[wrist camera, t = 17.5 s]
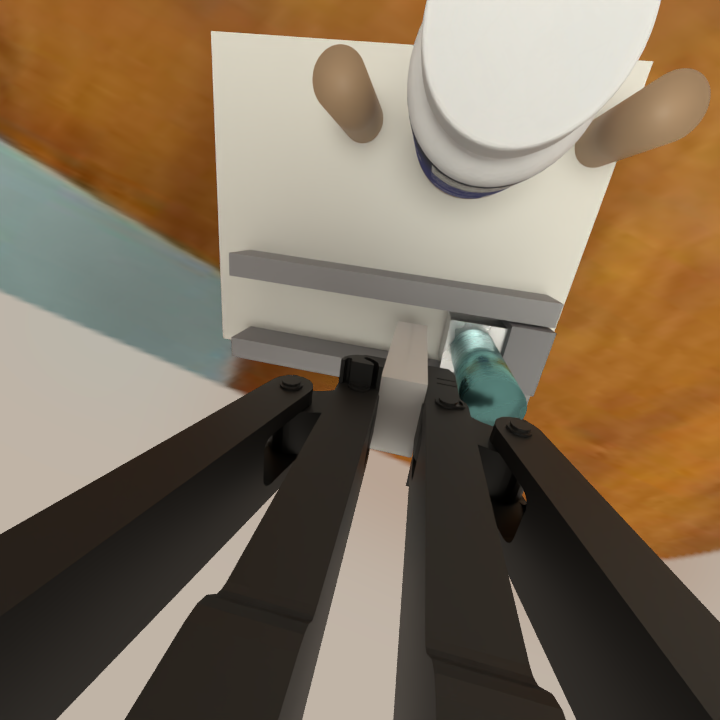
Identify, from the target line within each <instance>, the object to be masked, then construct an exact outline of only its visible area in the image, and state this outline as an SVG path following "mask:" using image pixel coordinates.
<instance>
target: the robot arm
mask: <svg viewBox="0 0 720 720" xmlns="http://www.w3.org/2000/svg"><path fill="white" fill-rule="evenodd" d="M369 449H375V450H379V451H384V452H388V453H393V454H397V455H402V456H406V457H412V452H413V457H412V461H411V466H410V470H409V474H408V479H407V483H406V486H409V493H408V508H407V523H406V539H405V553H404V569H403V583H402V598H401V614H400V629H399V644H398V659H397V675H396V689H395V705H394V720H566V719H565V716H564V713H563V711H562V709H561V707H560V705H559V704H558V702H557V701H556V699H555V697H554V696H553V695H552V694H551V693H550V692H548V691H546V690H544V689H543V688H541V687H539V686H538V685H537V683H536V682H535V679H534V678H533V675H532V672H531V669H530V665H529V661H528V657H527V652H526V648H525V644H524V640H523V636H522V631H521V627H520V623H519V618H518V614H517V610H516V606H515V601H514V597H513V593H512V589H511V584H510V581H509V577H510V579H511V581H512V584H513V586H514V588H515V590H516V592H517V594H518V596H519V598H520V601H521V603H522V604H523V607H524V609H525V611H526V613H527V616H528V618H529V620H530V622H531V624H532V626H533V628H534V630H535V633H536V635H537V637H538V639H539V641H540V643H541V645H542V647H543V649H544V652H545V654H546V656H547V658H548V660H549V662H550V664H551V666H552V668H553V671H554V673H555V675H556V677H557V679H558V681H559V683H560V686H561V688H562V690H563V692H564V694H565V696H566V698H567V700H568V703H569V705H570V707H571V709H572V711H573V713H574V715H575V717H576V720H720V622H719V621H718V620H717V619H716V618H715V617H714V616H713V615H712V614H711V613H710V611H709V610H708V609H707V608H706V607H705V606H704V605H703V604H702V603H701V602H700V601H699V600H698V599H697V598H696V596H695V595H694V594H693V593H692V592H691V591H690V590H689V589H688V588H687V587H686V586H685V585H684V584H683V582H681V580H680V579H679V578H678V577H677V576H676V575H675V574H674V573H673V572H672V571H671V570H670V569H669V567H668V566H667V565H666V564H665V563H664V562H663V561H662V560H661V559H660V558H659V557H658V556H657V555H656V554H655V552H654V551H653V550H652V549H651V548H650V547H649V546H648V545H647V544H646V543H645V542H644V541H643V540H642V539H641V538H640V536H639V535H638V534H637V533H636V532H635V531H634V530H633V529H632V528H631V527H630V526H629V525H628V524H627V523H626V521H625V520H624V519H623V518H622V517H621V516H620V515H619V514H618V513H617V512H616V511H615V510H614V509H613V508H612V506H611V505H610V504H609V503H608V502H607V501H606V500H605V499H604V498H603V497H602V496H601V495H600V494H599V493H598V491H597V490H596V489H595V488H594V487H593V486H592V485H591V484H590V483H589V482H588V481H587V480H586V479H585V478H584V477H583V475H582V474H581V473H580V472H579V471H578V470H577V469H576V468H575V467H574V466H573V465H572V464H571V463H570V462H569V460H568V459H567V458H566V457H565V456H564V455H563V454H562V453H561V452H560V451H559V450H558V449H557V448H556V447H555V445H554V444H553V443H552V442H551V441H550V440H549V439H548V438H547V437H546V436H545V435H544V434H543V433H542V432H541V431H540V430H539V429H538V428H537V427H535V426H534V425H532V424H530V423H528V422H527V421H526V420H523V419H522V420H521V419H520V418H517V417H515V418H514V417H500V418H497V419H496V421H495V423H494V426H491V425H488V424H485V423H483V422H480V421H478V420H476V419H474V418H472V417H471V415H470V410H469V407H468V406H467V404H466V403H465V402H463V401H462V400H461V399H460V398H459V393H458V388H457V383H456V377H455V375H454V374H453V373H452V372H451V371H450V370H449V369H445V368H439V367H434V366H428V354H427V326H425V325H419V324H413V323H407V322H401V321H398V322H397V326H396V329H395V332H394V336H393V339H392V342H391V346H390V349H389V352H388V356H387V359H385V358H380V357H375V356H369V355H349V356H345V357H343V358H342V359H341V366H340V375H339V383H338V385H337V387H336V388H335V390H332V391H313V384H312V383H311V381H310V380H308V379H306V378H304V377H300V376H297V375H293V376H292V375H286V376H280V377H277V378H275V379H273V380H271V381H269V382H267V383H266V384H264V385H262V386H260V387H259V388H257V389H255V390H253V391H252V392H250V393H248V394H246V395H244V396H243V397H241V398H239V399H237V400H236V401H234V402H232V403H230V404H229V405H227V406H225V407H223V408H222V409H220V410H218V411H217V412H215V413H213V414H211V415H209V416H208V417H206V418H204V419H202V420H201V421H199V422H197V423H195V424H193V425H192V426H190V427H188V428H187V429H185V430H183V431H181V432H179V433H178V434H176V435H174V436H172V437H171V438H169V439H167V440H165V441H164V442H162V443H160V444H158V445H157V446H155V447H153V448H151V449H150V450H148V451H146V452H144V453H143V454H141V455H139V456H137V457H136V458H134V459H132V460H130V461H128V462H127V463H125V464H123V465H121V466H120V467H118V468H116V469H114V470H113V471H111V472H109V473H107V474H106V475H104V476H102V477H100V478H99V479H97V480H95V481H93V482H92V483H90V484H88V485H86V486H85V487H83V488H81V489H79V490H78V491H76V492H74V493H72V494H70V495H69V496H67V497H65V498H63V499H62V500H60V501H58V502H56V503H55V504H53V505H51V506H49V507H48V508H46V509H44V510H43V511H41V512H39V513H37V514H35V515H34V516H32V517H30V518H28V519H27V520H25V521H23V522H21V523H20V524H18V525H16V526H14V527H12V528H11V529H9V530H7V531H5V532H4V533H2V534H0V720H56V719H57V718H58V717H59V716H60V715H61V714H62V713H63V712H64V710H66V709H67V708H68V707H69V706H70V704H71V703H72V702H73V701H74V700H75V699H76V698H77V697H78V696H79V695H80V694H81V693H82V692H83V691H84V690H85V689H86V688H87V687H88V686H89V685H90V684H91V683H92V682H93V681H94V680H95V679H96V678H97V677H98V675H99V674H100V673H101V672H102V671H103V670H104V669H105V668H106V667H107V666H108V665H109V664H110V663H111V662H112V661H113V660H114V659H115V658H116V657H117V656H118V654H120V653H121V652H122V651H123V650H124V649H125V648H126V646H127V645H128V644H129V643H130V642H131V641H132V640H133V639H134V638H135V637H136V636H137V635H138V634H139V633H140V632H141V631H142V630H143V629H144V628H145V627H146V626H147V625H148V624H149V623H150V622H151V621H152V620H153V618H154V617H155V616H156V615H157V614H158V613H159V612H160V611H161V610H162V609H163V608H164V607H165V606H166V605H167V604H168V603H169V602H170V601H171V600H172V599H173V598H174V597H175V596H176V595H177V594H178V593H179V591H180V590H181V589H182V588H183V587H184V586H185V585H186V584H187V583H188V582H189V581H190V580H191V579H192V578H193V577H194V576H195V575H196V574H197V573H198V572H199V571H200V570H201V569H202V568H203V567H204V566H205V564H207V563H208V561H209V560H210V559H211V558H212V557H213V556H214V555H215V554H216V553H217V552H218V551H219V550H220V549H221V548H222V547H223V546H224V545H225V544H226V543H227V542H228V541H229V539H231V538H232V537H233V536H234V534H235V533H236V532H237V531H238V530H239V529H240V528H241V527H242V526H243V525H244V524H245V523H246V522H247V521H248V520H249V519H250V518H251V517H252V516H253V515H254V514H255V513H256V512H257V511H258V510H259V508H261V506H262V505H263V504H264V503H265V502H266V501H267V500H268V499H269V498H270V497H271V496H272V495H273V494H274V493H275V492H276V491H277V490H278V489H279V490H278V492H277V493H276V495H275V497H274V499H273V500H272V502H271V504H270V506H269V507H268V509H267V511H266V513H265V515H264V517H263V518H262V520H261V522H260V523H259V525H258V527H257V529H256V531H255V532H254V534H253V536H252V538H251V540H250V541H249V543H248V545H247V547H246V548H245V550H244V552H243V554H242V556H241V557H240V559H239V561H238V563H237V565H236V567H235V568H234V570H233V572H232V573H231V575H230V577H229V579H228V581H227V582H226V584H225V585H224V587H223V588H222V589H221V590H220V591H219V592H218V593H217V594H211V595H206V596H205V597H204V598H203V599H202V600H201V601H199V602H198V603H197V605H196V606H195V607H194V609H193V610H192V612H191V613H190V615H189V616H188V618H187V619H186V620H185V622H184V624H183V625H182V627H181V628H180V630H179V632H178V633H177V635H176V637H175V638H174V640H173V641H172V643H171V645H170V646H169V648H168V650H167V651H166V653H165V654H164V656H163V658H162V659H161V661H160V663H159V664H158V666H157V668H156V669H155V671H154V673H153V674H152V676H151V678H150V679H149V681H148V682H147V684H146V686H145V687H144V689H143V690H142V692H141V694H140V695H139V697H138V699H137V700H136V702H135V704H134V705H133V707H132V708H131V710H130V712H129V713H128V715H127V717H126V718H125V720H302V718H303V714H304V710H305V706H306V702H307V698H308V694H309V690H310V686H311V681H312V678H313V674H314V670H315V666H316V662H317V658H318V654H319V650H320V646H321V642H322V638H323V634H324V630H325V626H326V622H327V618H328V614H329V611H330V607H331V603H332V599H333V594H334V591H335V587H336V583H337V578H338V575H339V571H340V567H341V563H342V559H343V555H344V551H345V547H346V543H347V539H348V535H349V531H350V527H351V523H352V519H353V516H354V512H355V507H356V503H357V500H358V496H359V492H360V487H361V484H362V480H363V476H364V472H365V468H366V464H367V460H368V455H369ZM523 491H524V492H525V495H526V499H527V502H526V501H525V499H524V498H523V496H522V494H523ZM508 575H509V576H508Z"/></svg>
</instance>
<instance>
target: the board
mask: <svg viewBox="0 0 720 720" xmlns="http://www.w3.org/2000/svg"><path fill="white" fill-rule="evenodd" d="M211 43H212V69H213V94H214V120H215V146H216V171H217V197H218V223H219V248H220V274H221V299H222V325H223V338H225V339H231V347H232V356H234V357H239V358H244V359H250V360H255V361H260V362H265V363H270V364H275V365H280V366H286V367H291V368H296V369H301V370H306V371H311V372H317V373H322V374H327V375H332V376H337V377H339V375H340V366H341V359H342V358H343V357H345V356H349V355H369V356H375V357H380V358H385V359H387V356H388V352H389V349H390V346H391V342H392V339H393V336H394V332H395V329H396V326H397V322H398V321H401V322H407V323H413V324H419V325H425V326H427V354H428V366H434V367H439V359H438V352H439V348H440V343H441V339H442V335H443V330H444V326H445V322H446V317H447V313H448V311H451V312H457V313H463V314H469V315H476V316H482V317H488V318H494V319H500V320H501V321H502V322H503V323H504V324H505V326H506V327H507V328H508V331H507V335H506V338H505V341H504V344H503V348H502V351H501V355H502V357H503V359H504V361H505V362H506V364H507V366H508V368H509V369H510V371H511V373H512V374H513V376H514V378H515V380H516V381H517V383H518V385H519V387H520V388H521V390H522V392H523V394H524V395H525V398H526V401H527V403H528V401H529V398H530V396H534V393H535V390H536V387H537V385H538V382H539V379H540V377H541V374H542V371H543V369H544V366H545V363H546V360H547V358H548V355H549V352H550V350H551V347H552V344H553V341H554V339H555V336H556V333H555V332H554V331H555V328H556V325H557V323H558V320H559V317H560V315H561V312H562V309H563V306H564V304H565V301H566V298H567V295H568V293H569V290H570V287H571V285H572V282H573V279H574V276H575V274H576V271H577V268H578V265H579V263H580V260H581V257H582V254H583V252H584V249H585V246H586V244H587V241H588V238H589V235H590V233H591V230H592V227H593V224H594V222H595V219H596V216H597V214H598V211H599V208H600V205H601V203H602V200H603V197H604V194H605V192H606V189H607V186H608V184H609V181H610V178H611V175H612V173H613V170H614V167H615V164H616V162H617V161H618V160H621V159H624V158H627V157H630V156H633V155H636V154H639V153H642V152H645V151H648V150H651V149H654V148H657V147H660V146H663V145H665V144H668V143H671V142H674V141H677V140H679V139H681V138H683V137H684V136H686V135H687V134H689V133H690V132H691V131H692V130H693V129H694V128H695V127H696V126H697V125H698V124H699V122H700V121H701V120H702V118H703V117H704V115H705V113H706V111H707V108H708V106H709V102H710V86H709V83H708V81H707V79H706V77H705V76H704V75H703V74H702V73H700V72H698V71H697V70H694V69H688V68H683V69H677V70H674V71H671V72H669V73H667V74H665V75H663V76H661V77H660V78H658V79H657V80H655V81H654V82H652V83H650V84H649V85H647V86H646V87H644V85H645V83H646V80H647V77H648V74H649V72H650V69H651V66H652V63H653V61H637V63H636V64H635V66H634V68H633V69H632V71H631V73H630V74H629V76H628V77H627V78H626V80H625V81H624V83H623V84H622V86H621V87H620V88H619V89H618V91H617V92H616V93H615V94H614V96H613V97H612V98H611V99H610V100H609V101H608V102H607V103H606V104H605V105H604V106H603V107H602V108H601V109H600V110H599V111H598V112H597V114H596V116H595V117H594V119H593V121H592V122H591V124H590V125H589V127H588V128H587V129H586V131H585V132H584V134H583V135H582V136H581V137H580V139H579V140H578V141H577V142H576V143H575V144H574V145H573V146H572V147H571V148H570V149H569V150H568V151H567V152H566V153H565V154H564V155H563V156H562V157H561V158H560V159H558V160H557V161H556V162H555V163H553V164H552V165H551V166H549V167H548V168H546V169H545V170H543V171H542V172H540V173H538V174H536V175H535V176H533V177H531V178H529V179H527V180H525V181H522V182H520V183H518V184H516V185H513V186H511V187H509V188H507V189H505V190H503V191H501V192H498V193H496V194H493V195H491V196H488V197H484V198H478V199H460V198H455V197H452V196H449V195H447V194H445V193H443V192H441V191H440V190H439V189H437V188H436V187H435V186H434V185H433V184H432V183H431V182H430V181H429V180H428V179H427V177H426V176H425V174H424V173H423V171H422V169H421V167H420V164H419V161H418V158H417V154H416V149H415V144H414V139H413V134H412V129H411V124H410V119H409V112H408V102H407V81H408V71H409V65H410V59H411V54H412V50H413V47H414V45H406V44H392V43H377V42H363V41H348V40H334V39H319V38H304V37H290V36H275V35H261V34H246V33H232V32H217V31H211ZM452 373H453V374H454V372H452ZM454 375H455V374H454Z"/></svg>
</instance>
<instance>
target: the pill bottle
mask: <svg viewBox="0 0 720 720" xmlns="http://www.w3.org/2000/svg"><path fill="white" fill-rule="evenodd" d="M660 1H661V0H427V2H426V6H425V11H424V17H423V22H422V24H421V27H420V29H419V32H418V35H417V37H416V40H415V43H414V47H413V50H412V54H411V59H410V65H409V71H408V81H407V102H408V112H409V119H410V124H411V129H412V134H413V139H414V144H415V149H416V154H417V158H418V161H419V164H420V167H421V169H422V171H423V173H424V174H425V176H426V177H427V179H428V180H429V181H430V182H431V183H432V184H433V185H434V186H435V187H436V188H437V189H439V190H440V191H441V192H443V193H445V194H447V195H449V196H452V197H455V198H460V199H478V198H484V197H488V196H491V195H493V194H496V193H498V192H501V191H503V190H505V189H507V188H509V187H511V186H513V185H516V184H518V183H520V182H522V181H525V180H527V179H529V178H531V177H533V176H535V175H536V174H538V173H540V172H542V171H543V170H545V169H546V168H548V167H549V166H551V165H552V164H553V163H555V162H556V161H557V160H558V159H560V158H561V157H562V156H563V155H564V154H565V153H566V152H567V151H568V150H569V149H570V148H571V147H572V146H573V145H574V144H575V143H576V142H577V141H578V140H579V139H580V137H581V136H582V135H583V134H584V132H585V131H586V129H587V128H588V127H589V125H590V124H591V122H592V121H593V119H594V117H595V116H596V114H597V112H598V111H599V110H600V109H601V108H602V107H603V106H604V105H605V104H606V103H607V102H608V101H609V100H610V99H611V98H612V97H613V96H614V94H615V93H616V92H617V91H618V89H619V88H620V87H621V86H622V84H623V83H624V81H625V80H626V78H627V77H628V76H629V74H630V73H631V71H632V69H633V68H634V66H635V64H636V63H637V61H638V59H639V58H640V56H641V54H642V52H643V50H644V48H645V46H646V43H647V41H648V39H649V36H650V34H651V31H652V29H653V26H654V23H655V20H656V17H657V13H658V9H659V6H660Z"/></svg>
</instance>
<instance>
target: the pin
mask: <svg viewBox="0 0 720 720" xmlns="http://www.w3.org/2000/svg"><path fill="white" fill-rule="evenodd" d="M507 331H508V328H507V327H506V326H505V324H504V323H503V322H502V321H501V320H500V319H494V318H488V317H482V316H476V315H469V314H463V313H457V312H451V311H448V313H447V317H446V322H445V326H444V330H443V335H442V339H441V343H440V348H439V352H438V359H439V368H445V369H449V370H450V371H451V372H454V374H455V377H456V383H457V388H458V393H459V398H460V399H461V400H462V401H463V402H465V403H466V404H467V406H468V407H469V410H470V415H471V417H472V418H474V419H476V420H478V421H480V422H483V423H485V424H488V425H491V426H494V423H495V421H496V419H497V418H500V417H514V418H515V417H517V418H520V419H521V420H522V419H523V418H524V416H525V414H526V411H527V401H526V398H525V395H524V394H523V392H522V390H521V388H520V387H519V385H518V383H517V381H516V380H515V378H514V376H513V374H512V373H511V371H510V369H509V368H508V366H507V364H506V362H505V361H504V359H503V357H502V355H501V351H502V348H503V344H504V341H505V338H506V335H507Z"/></svg>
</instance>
